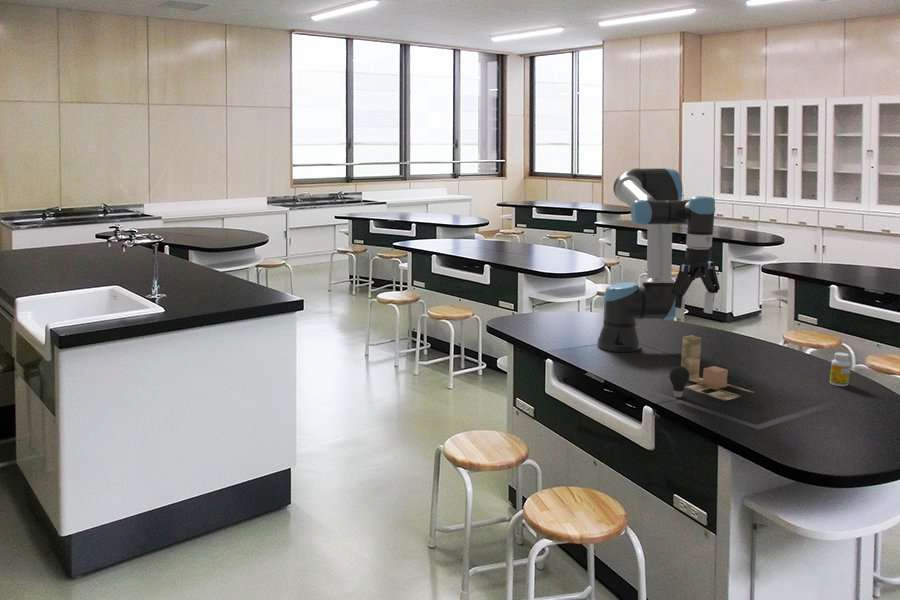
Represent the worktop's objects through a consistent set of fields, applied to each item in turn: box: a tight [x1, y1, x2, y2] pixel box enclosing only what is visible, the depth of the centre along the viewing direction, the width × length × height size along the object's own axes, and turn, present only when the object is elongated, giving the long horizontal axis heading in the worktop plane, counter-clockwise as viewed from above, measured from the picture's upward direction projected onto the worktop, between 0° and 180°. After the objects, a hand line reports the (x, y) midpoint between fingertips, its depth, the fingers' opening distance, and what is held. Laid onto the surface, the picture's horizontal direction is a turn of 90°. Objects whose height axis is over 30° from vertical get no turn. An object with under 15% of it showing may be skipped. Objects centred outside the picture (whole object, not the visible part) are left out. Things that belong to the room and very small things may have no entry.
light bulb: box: [669, 365, 690, 400], centre depth 239 cm, size 6×6×10 cm
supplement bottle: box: [829, 352, 851, 387], centre depth 256 cm, size 5×5×10 cm
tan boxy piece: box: [680, 334, 728, 389], centre depth 253 cm, size 15×5×14 cm, turn 35°
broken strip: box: [686, 383, 738, 401], centre depth 244 cm, size 15×5×1 cm, turn 35°
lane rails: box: [684, 383, 755, 402], centre depth 246 cm, size 15×14×1 cm
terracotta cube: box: [702, 365, 729, 389], centre depth 250 cm, size 5×5×5 cm
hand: (693, 315), depth 255 cm, fingers open, 13 cm apart
